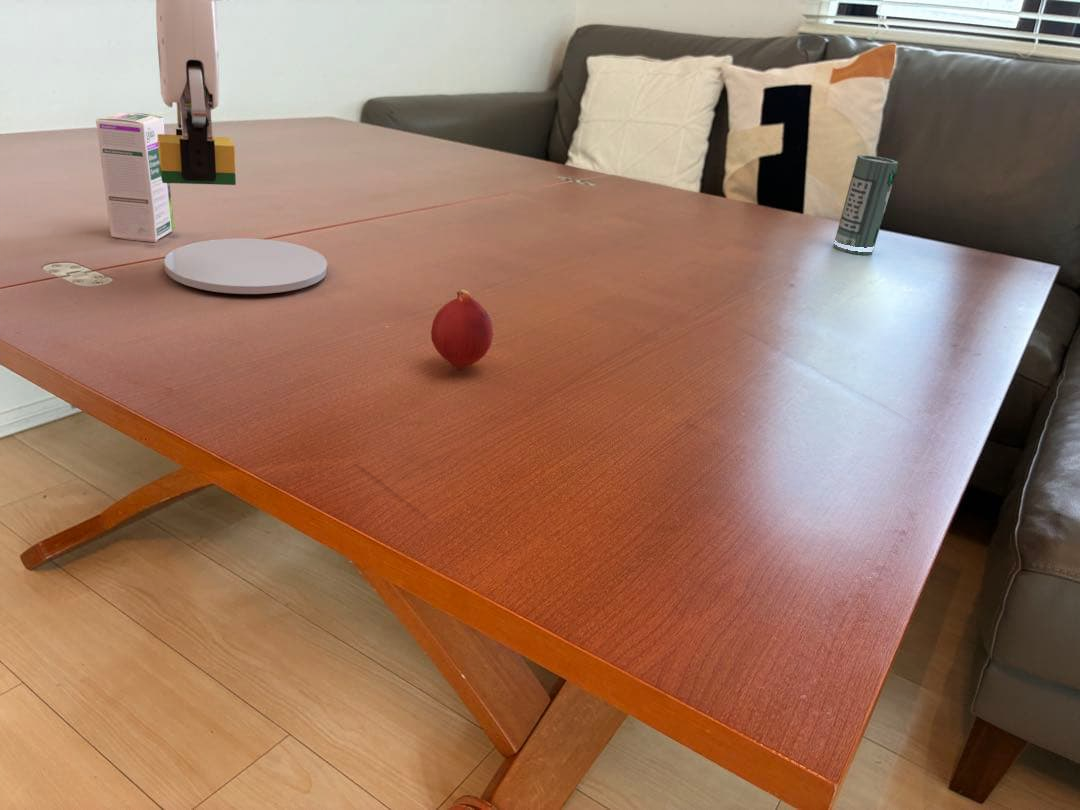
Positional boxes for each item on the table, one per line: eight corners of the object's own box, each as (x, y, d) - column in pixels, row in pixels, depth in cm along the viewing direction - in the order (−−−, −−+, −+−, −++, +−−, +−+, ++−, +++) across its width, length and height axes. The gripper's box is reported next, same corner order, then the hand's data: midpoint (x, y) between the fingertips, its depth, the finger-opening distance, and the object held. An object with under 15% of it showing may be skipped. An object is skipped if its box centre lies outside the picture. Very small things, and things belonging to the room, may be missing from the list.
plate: (169, 302, 89) (167, 288, 88) (162, 250, 103) (160, 238, 103) (341, 296, 96) (341, 283, 96) (312, 248, 111) (312, 237, 110)
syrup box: (156, 243, 106) (145, 122, 99) (108, 237, 105) (94, 116, 99) (174, 231, 111) (165, 115, 104) (129, 226, 111) (117, 110, 104)
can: (878, 254, 143) (905, 163, 136) (854, 255, 140) (881, 163, 133) (850, 243, 147) (875, 155, 141) (826, 245, 144) (850, 155, 138)
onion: (463, 351, 86) (469, 276, 82) (501, 372, 82) (509, 294, 79) (417, 363, 82) (421, 285, 78) (455, 386, 78) (461, 304, 75)
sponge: (162, 183, 85) (159, 142, 83) (160, 173, 89) (157, 133, 87) (235, 185, 88) (234, 145, 86) (230, 175, 92) (229, 137, 90)
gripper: (139, -30, 85) (153, 156, 93) (145, -22, 72) (162, 193, 80) (218, -20, 88) (225, 158, 96) (239, -12, 75) (245, 195, 83)
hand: (196, 172), depth 88 cm, fingers closed on sponge, 4 cm apart
